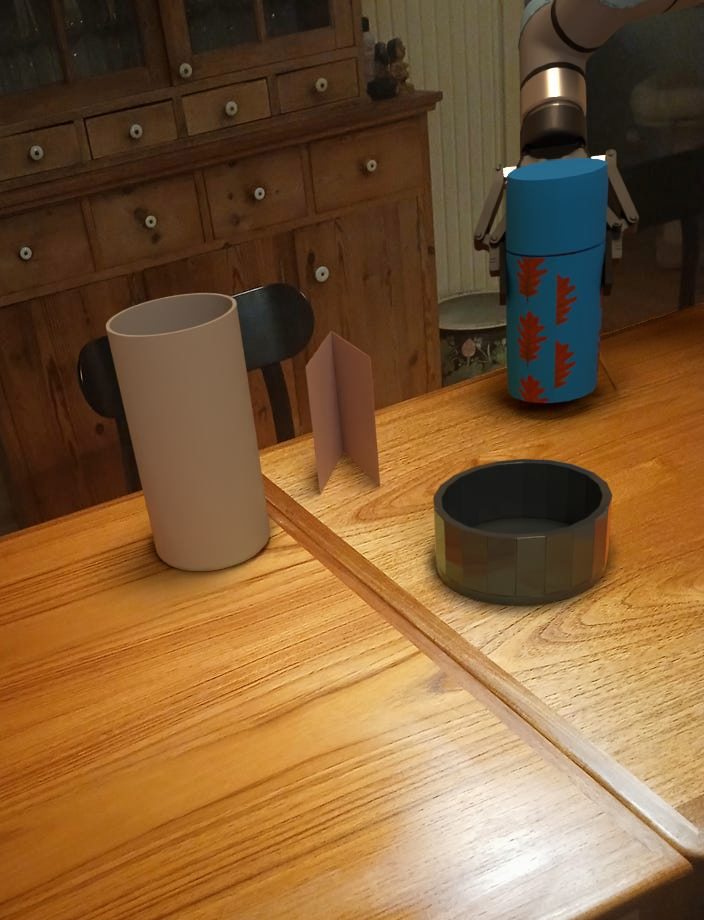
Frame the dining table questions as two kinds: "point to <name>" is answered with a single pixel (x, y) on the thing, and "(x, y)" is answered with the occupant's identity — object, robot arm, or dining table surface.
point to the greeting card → (342, 408)
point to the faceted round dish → (522, 531)
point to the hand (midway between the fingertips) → (554, 294)
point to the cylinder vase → (192, 428)
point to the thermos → (555, 277)
